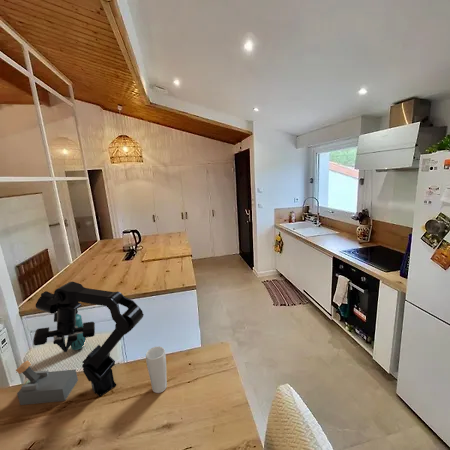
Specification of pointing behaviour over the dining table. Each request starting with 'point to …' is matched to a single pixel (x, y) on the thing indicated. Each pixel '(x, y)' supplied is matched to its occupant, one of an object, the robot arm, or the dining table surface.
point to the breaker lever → (28, 372)
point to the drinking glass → (157, 368)
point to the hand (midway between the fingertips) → (65, 351)
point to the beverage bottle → (80, 338)
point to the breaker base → (48, 387)
